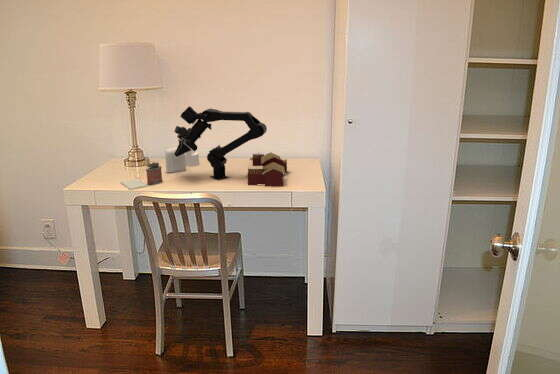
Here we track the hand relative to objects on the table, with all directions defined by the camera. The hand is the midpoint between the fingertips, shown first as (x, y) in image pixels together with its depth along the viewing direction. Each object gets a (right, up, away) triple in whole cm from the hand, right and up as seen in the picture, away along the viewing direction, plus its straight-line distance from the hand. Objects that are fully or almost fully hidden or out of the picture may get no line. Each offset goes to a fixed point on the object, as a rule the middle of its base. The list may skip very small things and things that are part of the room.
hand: (175, 155), depth 224 cm
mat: (-19, -14, -3) cm, 23 cm away
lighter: (-9, -13, -1) cm, 16 cm away
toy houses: (+43, -8, +14) cm, 46 cm away
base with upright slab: (+1, -3, +32) cm, 32 cm away
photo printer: (-4, -7, +19) cm, 21 cm away
